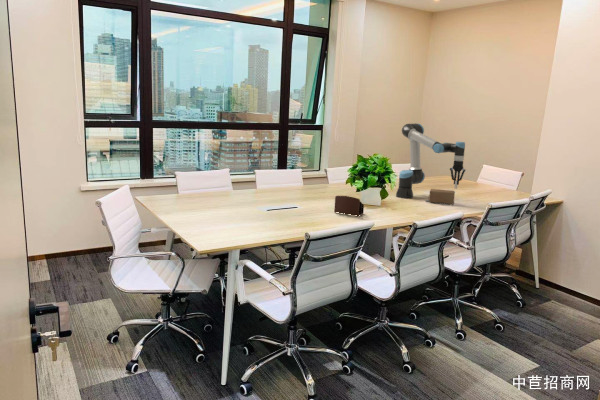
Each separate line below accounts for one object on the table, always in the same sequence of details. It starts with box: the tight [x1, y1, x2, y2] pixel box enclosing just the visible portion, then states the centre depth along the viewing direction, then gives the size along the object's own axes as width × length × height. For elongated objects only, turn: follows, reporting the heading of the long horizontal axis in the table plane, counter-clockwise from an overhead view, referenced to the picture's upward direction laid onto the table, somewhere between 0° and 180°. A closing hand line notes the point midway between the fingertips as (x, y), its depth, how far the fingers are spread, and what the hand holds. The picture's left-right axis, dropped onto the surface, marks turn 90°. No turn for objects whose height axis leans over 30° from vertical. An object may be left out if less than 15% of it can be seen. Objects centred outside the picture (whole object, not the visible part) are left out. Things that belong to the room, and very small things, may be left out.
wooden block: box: [428, 188, 456, 205], centre depth 391 cm, size 10×10×20 cm
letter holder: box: [333, 195, 365, 217], centre depth 345 cm, size 10×20×14 cm, turn 61°
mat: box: [425, 198, 451, 206], centre depth 397 cm, size 20×16×1 cm
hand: (455, 188), depth 388 cm, fingers closed
